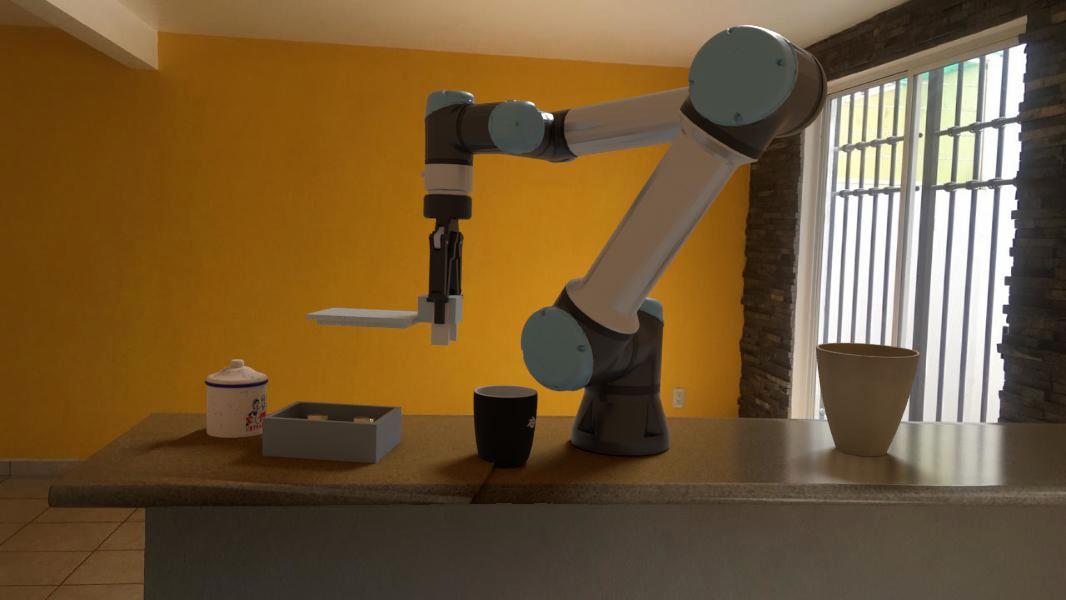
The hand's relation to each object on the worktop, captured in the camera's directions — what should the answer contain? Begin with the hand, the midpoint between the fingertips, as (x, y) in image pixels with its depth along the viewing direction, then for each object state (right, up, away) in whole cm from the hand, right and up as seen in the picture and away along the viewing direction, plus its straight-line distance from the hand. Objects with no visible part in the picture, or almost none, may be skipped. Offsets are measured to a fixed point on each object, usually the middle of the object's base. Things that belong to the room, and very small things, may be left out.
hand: (444, 342), depth 136 cm
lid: (-9, +3, +1) cm, 9 cm away
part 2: (-11, -14, -11) cm, 21 cm away
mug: (+10, -16, -13) cm, 23 cm away
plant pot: (+65, -17, -2) cm, 67 cm away
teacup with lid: (-31, -14, -3) cm, 34 cm away
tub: (-14, -15, -13) cm, 25 cm away
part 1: (-17, -14, -10) cm, 25 cm away
